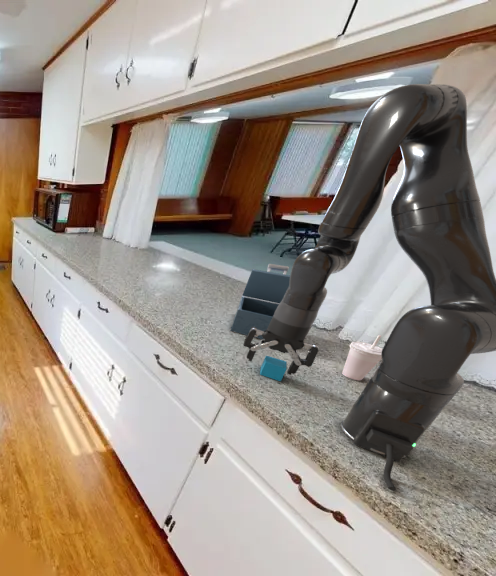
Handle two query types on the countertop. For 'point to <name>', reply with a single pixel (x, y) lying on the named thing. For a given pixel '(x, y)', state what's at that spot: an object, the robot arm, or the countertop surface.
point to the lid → (268, 284)
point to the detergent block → (273, 368)
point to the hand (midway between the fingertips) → (268, 366)
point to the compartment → (253, 315)
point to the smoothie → (361, 359)
